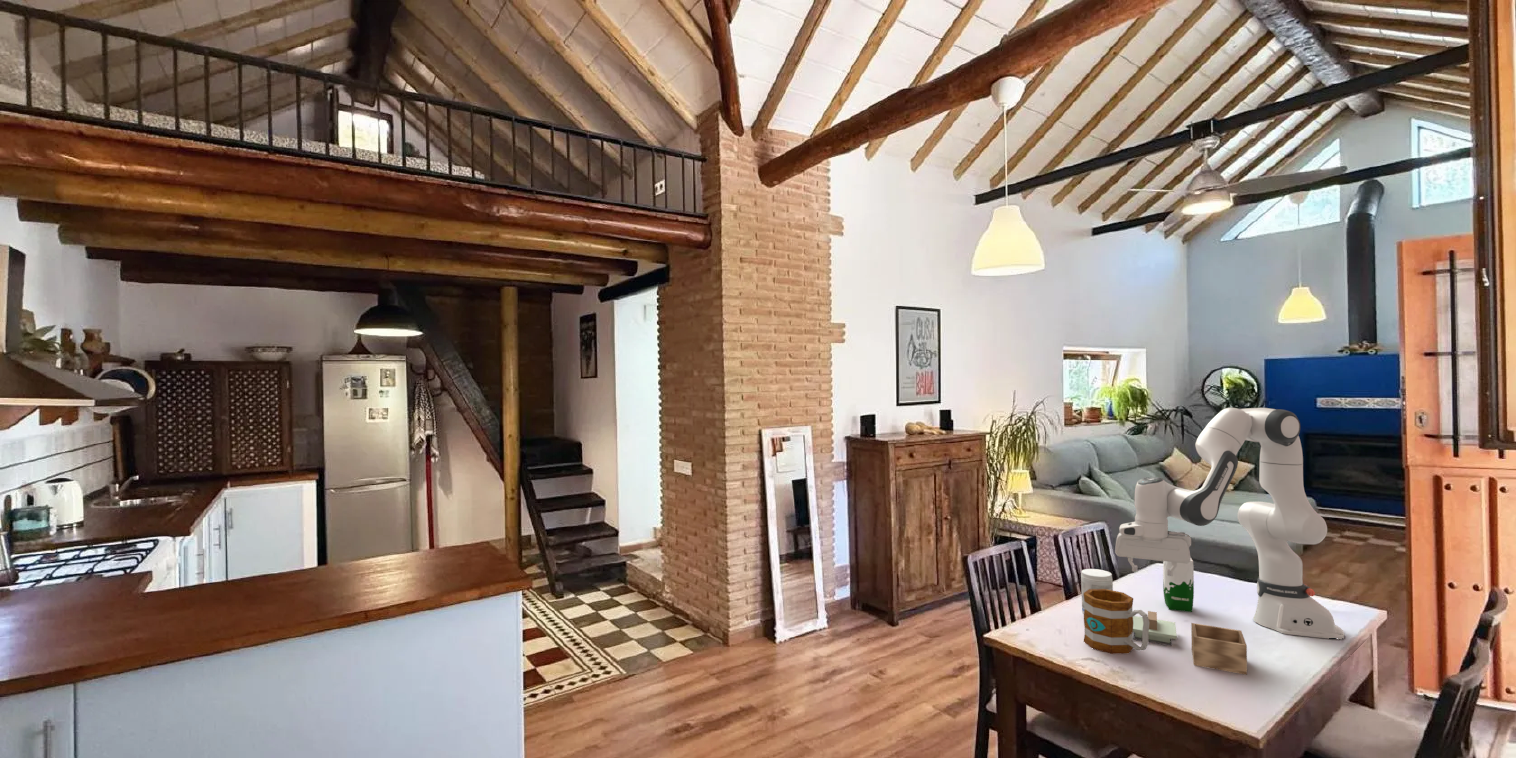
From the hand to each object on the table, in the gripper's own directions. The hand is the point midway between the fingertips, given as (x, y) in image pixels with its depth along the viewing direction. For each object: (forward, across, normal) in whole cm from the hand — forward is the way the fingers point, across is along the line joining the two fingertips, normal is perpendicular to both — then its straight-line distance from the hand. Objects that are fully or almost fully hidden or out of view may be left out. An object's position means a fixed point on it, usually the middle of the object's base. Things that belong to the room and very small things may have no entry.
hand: (1152, 573), depth 204 cm
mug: (+20, +9, +16) cm, 27 cm away
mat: (+20, 0, 0) cm, 20 cm away
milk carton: (+20, -8, -33) cm, 39 cm away
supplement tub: (+20, +16, -11) cm, 28 cm away
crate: (+20, -16, +12) cm, 28 cm away
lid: (+17, 0, 0) cm, 17 cm away
